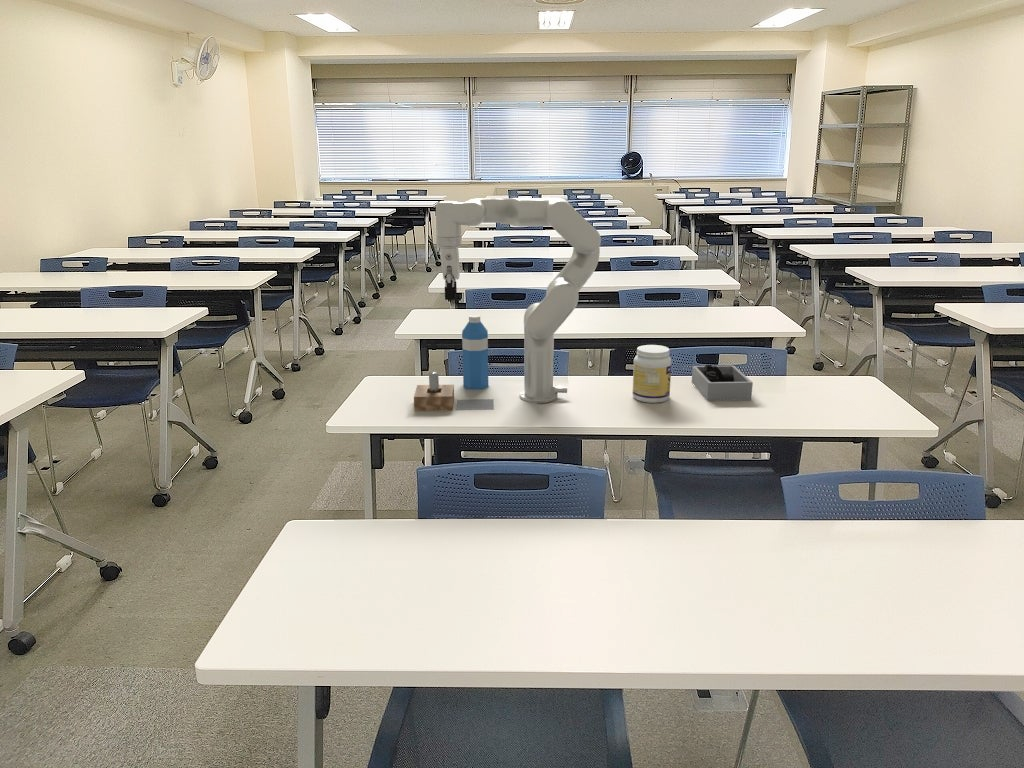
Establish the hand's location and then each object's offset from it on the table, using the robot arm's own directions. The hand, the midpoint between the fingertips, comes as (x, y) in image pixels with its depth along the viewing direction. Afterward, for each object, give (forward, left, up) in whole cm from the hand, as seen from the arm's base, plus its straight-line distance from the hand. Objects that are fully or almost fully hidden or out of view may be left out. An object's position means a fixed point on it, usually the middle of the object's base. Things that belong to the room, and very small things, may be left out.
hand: (450, 296), depth 234 cm
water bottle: (-7, -13, -34) cm, 38 cm away
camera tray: (-90, -4, -34) cm, 96 cm away
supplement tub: (-65, +2, -34) cm, 74 cm away
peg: (+6, +6, -34) cm, 35 cm away
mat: (-7, +7, -34) cm, 36 cm away
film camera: (-89, -3, -35) cm, 95 cm away
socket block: (+6, +6, -34) cm, 35 cm away
